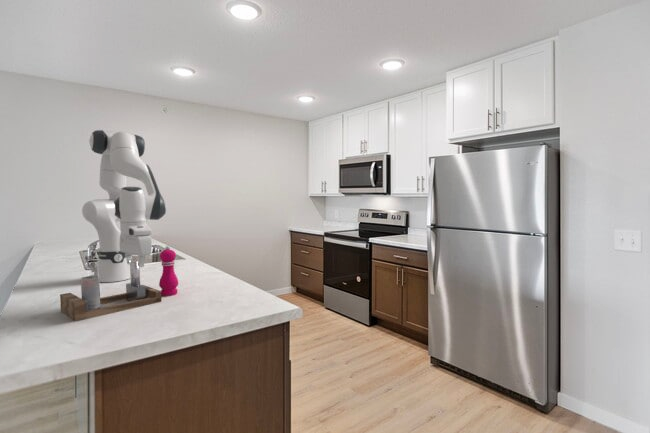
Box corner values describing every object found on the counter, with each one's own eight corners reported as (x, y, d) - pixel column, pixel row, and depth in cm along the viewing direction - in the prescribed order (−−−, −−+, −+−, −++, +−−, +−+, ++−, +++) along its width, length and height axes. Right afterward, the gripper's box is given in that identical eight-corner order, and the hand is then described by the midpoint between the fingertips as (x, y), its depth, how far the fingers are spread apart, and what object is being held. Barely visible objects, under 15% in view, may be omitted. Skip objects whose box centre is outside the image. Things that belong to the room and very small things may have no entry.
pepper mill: (171, 296, 143) (170, 247, 142) (155, 296, 145) (153, 246, 144) (182, 292, 150) (180, 244, 149) (166, 291, 152) (165, 244, 151)
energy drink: (98, 307, 130) (96, 274, 129) (102, 310, 126) (100, 277, 126) (80, 311, 126) (79, 277, 126) (84, 314, 123) (82, 279, 122)
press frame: (60, 311, 126) (60, 294, 126) (143, 294, 147) (142, 279, 147) (75, 321, 116) (74, 303, 115) (161, 301, 137) (160, 286, 137)
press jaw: (126, 299, 140) (124, 260, 139) (134, 297, 142) (133, 259, 141) (137, 303, 133) (135, 263, 132) (146, 301, 136) (144, 262, 135)
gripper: (114, 229, 140) (115, 264, 141) (136, 231, 127) (138, 269, 128) (131, 227, 145) (132, 261, 146) (154, 229, 132) (156, 267, 133)
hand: (135, 265), depth 137 cm, fingers open, 8 cm apart
